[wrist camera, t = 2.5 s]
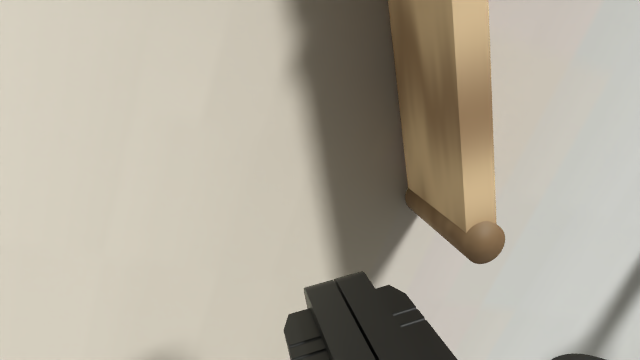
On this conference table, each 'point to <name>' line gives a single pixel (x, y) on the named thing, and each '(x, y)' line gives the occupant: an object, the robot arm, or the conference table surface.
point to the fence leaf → (448, 119)
